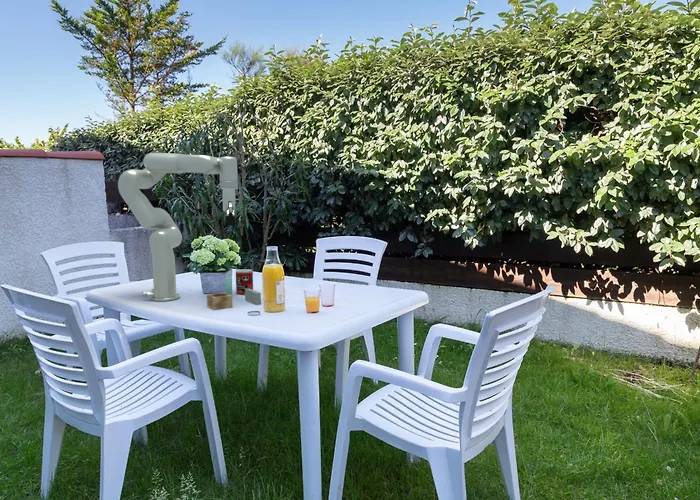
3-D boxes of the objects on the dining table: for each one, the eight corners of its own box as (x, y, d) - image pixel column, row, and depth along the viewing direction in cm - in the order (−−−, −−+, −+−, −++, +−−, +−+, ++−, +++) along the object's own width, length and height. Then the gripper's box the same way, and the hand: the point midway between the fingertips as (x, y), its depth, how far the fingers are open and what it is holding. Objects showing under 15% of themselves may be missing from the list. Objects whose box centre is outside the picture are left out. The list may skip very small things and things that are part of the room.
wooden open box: (214, 309, 200) (213, 297, 199) (207, 306, 206) (206, 294, 206) (232, 307, 204) (232, 295, 204) (225, 303, 211) (225, 292, 210)
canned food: (232, 294, 231) (232, 271, 230) (244, 291, 238) (243, 268, 237) (245, 295, 228) (245, 272, 226) (256, 292, 235) (255, 269, 233)
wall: (256, 304, 209) (256, 293, 208) (245, 299, 218) (244, 288, 218) (260, 304, 210) (260, 292, 209) (249, 299, 219) (249, 288, 219)
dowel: (226, 301, 216) (226, 278, 215) (224, 299, 218) (223, 277, 217) (233, 300, 218) (233, 278, 216) (230, 299, 220) (230, 277, 219)
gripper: (219, 185, 220) (220, 223, 222) (220, 185, 203) (222, 226, 205) (236, 185, 222) (237, 223, 224) (239, 185, 205) (240, 225, 207)
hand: (230, 224), depth 215 cm, fingers open, 9 cm apart
